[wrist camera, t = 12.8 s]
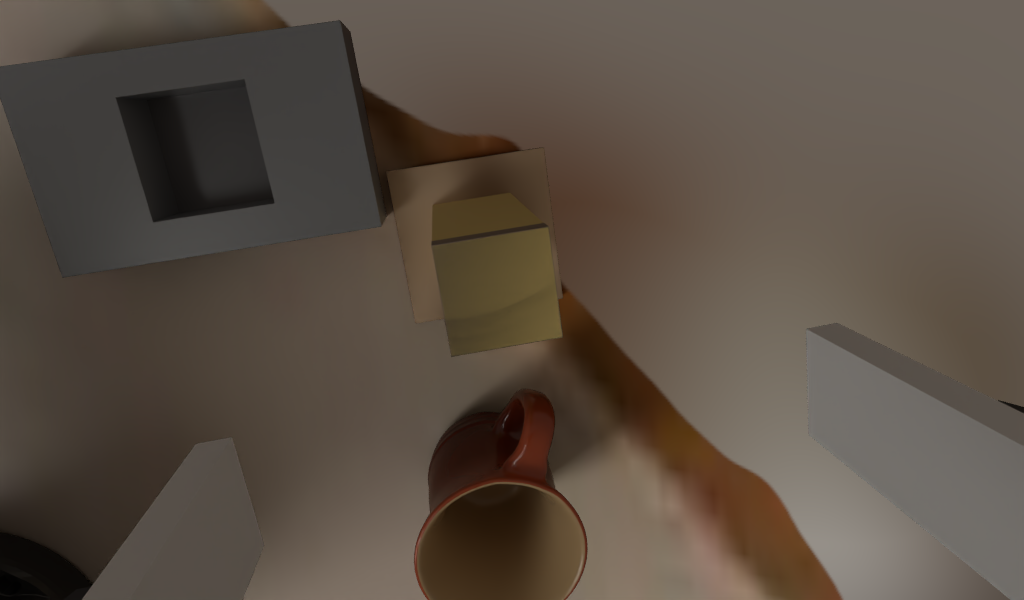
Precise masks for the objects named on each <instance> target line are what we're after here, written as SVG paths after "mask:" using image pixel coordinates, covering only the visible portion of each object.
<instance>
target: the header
mask: <svg viewBox="0 0 1024 600" xmlns="http://www.w3.org/2000/svg"><path fill="white" fill-rule="evenodd" d="M0 99H1V102H2V105H3V108H4V110H5V113H6V116H7V119H8V122H9V125H10V128H11V131H12V133H13V136H14V139H15V142H16V145H17V148H18V151H19V154H20V157H21V159H22V162H23V165H24V168H25V171H26V174H27V177H28V180H29V182H30V185H31V188H32V191H33V194H34V197H35V200H36V203H37V206H38V208H39V211H40V214H41V217H42V220H43V223H44V226H45V229H46V232H47V234H48V237H49V240H50V243H51V246H52V249H53V252H54V255H55V257H56V260H57V263H58V266H59V269H60V272H61V275H62V278H63V277H69V276H76V275H82V274H88V273H94V272H101V271H107V270H113V269H119V268H126V267H132V266H138V265H144V264H151V263H157V262H163V261H169V260H176V259H182V258H188V257H194V256H201V255H207V254H213V253H220V252H226V251H232V250H238V249H245V248H251V247H257V246H263V245H270V244H276V243H282V242H288V241H295V240H301V239H307V238H313V237H320V236H326V235H332V234H338V233H345V232H351V231H357V230H363V229H370V228H376V227H382V225H383V223H384V221H385V219H386V217H387V215H386V210H385V205H384V200H383V194H382V189H381V184H380V179H379V174H378V169H377V164H376V159H375V154H374V149H373V144H372V139H371V134H370V129H369V124H368V119H367V114H366V108H365V103H364V98H363V93H362V88H361V83H360V78H359V73H358V68H357V64H356V58H355V53H354V48H353V43H352V38H351V33H350V31H349V30H348V29H347V28H346V26H345V25H344V24H343V23H342V22H341V21H340V20H339V21H332V22H325V23H317V24H311V25H303V26H295V27H288V28H280V29H273V30H266V31H258V32H251V33H243V34H236V35H229V36H221V37H214V38H207V39H199V40H192V41H185V42H177V43H170V44H162V45H155V46H148V47H140V48H133V49H126V50H118V51H111V52H104V53H96V54H89V55H81V56H74V57H67V58H59V59H52V60H45V61H37V62H30V63H23V64H15V65H8V66H0Z"/></svg>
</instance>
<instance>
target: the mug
mask: <svg viewBox="0 0 1024 600" xmlns="http://www.w3.org/2000/svg"><path fill="white" fill-rule="evenodd" d="M554 427H555V415H554V410H553V407H552V404H551V402H550V400H549V399H548V398H547V397H546V395H544V394H543V393H541V392H539V391H535V390H531V389H521V390H518V391H517V392H516V393H515V394H514V395H513V396H512V398H511V400H510V401H509V403H508V404H507V406H506V407H505V408H504V409H503V411H502V412H501V413H496V412H480V413H476V414H473V415H470V416H468V417H465V418H463V419H461V420H460V421H458V422H456V423H455V424H454V425H452V426H451V427H450V428H449V429H448V430H447V431H446V432H445V433H444V434H443V436H442V437H441V439H440V440H439V442H438V444H437V446H436V448H435V450H434V453H433V456H432V459H431V462H430V466H429V472H428V485H429V507H430V514H429V516H428V518H427V519H426V521H425V523H424V525H423V527H422V529H421V531H420V533H419V536H418V539H417V542H416V546H415V553H414V566H415V573H416V577H417V580H418V583H419V586H420V588H421V590H422V592H423V594H424V595H425V597H426V598H427V600H566V599H567V598H568V597H569V595H570V594H571V593H572V592H573V590H574V589H575V587H576V586H577V584H578V582H579V581H580V578H581V576H582V574H583V571H584V568H585V564H586V560H587V537H586V532H585V529H584V526H583V523H582V521H581V519H580V517H579V515H578V514H577V512H576V510H575V509H574V508H573V506H572V505H571V504H570V503H569V501H568V500H567V499H566V498H565V497H564V496H563V495H562V494H561V493H560V492H558V491H557V490H556V489H555V485H554V480H553V477H552V473H551V470H550V467H549V462H548V453H549V450H550V446H551V443H552V439H553V434H554Z"/></svg>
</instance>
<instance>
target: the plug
mask: <svg viewBox="0 0 1024 600" xmlns="http://www.w3.org/2000/svg"><path fill="white" fill-rule="evenodd" d="M431 247H432V252H433V258H434V263H435V269H436V275H437V280H438V286H439V291H440V297H441V302H442V308H443V313H444V319H445V324H446V330H447V335H448V341H449V346H450V352H451V357H454V356H459V355H465V354H471V353H476V352H482V351H488V350H493V349H499V348H505V347H510V346H516V345H522V344H527V343H533V342H539V341H544V340H550V339H556V338H561V337H563V334H562V326H561V318H560V310H559V303H558V295H557V287H556V279H555V272H554V264H553V256H552V248H551V240H550V233H549V226H547V225H546V224H545V223H543V222H542V221H541V220H540V219H539V218H538V217H536V216H535V215H534V214H533V213H532V212H531V211H530V210H529V209H528V208H526V207H525V206H524V205H523V204H522V203H521V202H520V201H519V200H518V199H516V198H515V197H514V196H513V195H512V194H511V193H505V194H498V195H492V196H486V197H479V198H473V199H467V200H461V201H454V202H448V203H442V204H435V205H432V241H431Z"/></svg>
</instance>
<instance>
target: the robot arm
mask: <svg viewBox="0 0 1024 600" xmlns="http://www.w3.org/2000/svg"><path fill="white" fill-rule="evenodd" d="M806 347H807V385H808V386H807V389H808V429H809V436H811V437H812V438H813V439H814V440H816V441H817V442H818V443H820V445H822V446H823V447H824V448H825V449H827V450H828V451H829V452H830V453H831V454H833V455H834V456H835V457H837V458H838V459H839V460H840V461H841V462H843V463H844V464H845V465H846V466H847V467H849V468H850V469H851V470H852V471H854V472H855V473H856V474H857V475H858V476H860V477H861V478H862V479H863V480H865V481H866V482H867V483H868V484H870V485H871V486H872V487H873V488H874V489H876V490H877V491H878V492H879V493H881V494H882V495H883V496H884V497H886V498H887V499H888V500H889V501H890V502H892V503H893V504H894V505H895V506H897V507H898V508H899V509H901V511H903V512H904V513H905V514H906V515H907V516H909V517H910V518H911V519H912V520H914V521H915V522H916V523H917V524H918V525H920V526H921V527H922V528H923V529H925V530H926V531H927V532H928V533H930V534H931V535H932V536H933V537H934V538H936V539H937V540H938V541H939V542H940V543H942V544H943V545H944V546H946V547H947V548H948V549H949V550H950V551H952V552H953V553H954V554H955V555H956V556H958V557H959V558H960V559H961V560H963V561H964V562H965V563H966V564H968V565H969V566H970V567H971V568H973V569H974V570H975V571H976V572H977V573H979V574H980V575H981V576H982V577H983V578H985V579H986V580H987V581H988V582H989V583H991V584H992V585H993V586H995V587H996V588H997V589H998V590H999V591H1001V592H1002V593H1003V594H1004V595H1005V596H1007V597H1008V598H1009V599H1010V600H1024V407H1021V406H1018V405H1014V404H1010V403H1006V402H1003V401H999V400H998V401H997V400H995V399H993V398H991V397H989V396H987V395H985V394H982V393H980V392H979V391H977V390H974V389H972V388H970V387H968V386H966V385H964V384H962V383H960V382H958V381H956V380H954V379H952V378H949V377H948V376H946V375H943V374H941V373H939V372H937V371H935V370H933V369H931V368H929V367H927V366H925V365H923V364H921V363H919V362H917V361H914V360H913V359H911V358H908V357H906V356H904V355H902V354H900V353H898V352H896V351H894V350H892V349H890V348H888V347H886V346H884V345H882V344H880V343H878V342H875V341H873V340H871V339H869V338H867V337H865V336H863V335H861V334H859V333H857V332H855V331H853V330H851V329H849V328H846V327H845V326H842V325H840V324H838V323H834V324H829V325H823V326H819V327H813V328H808V329H806ZM263 547H264V543H263V539H262V536H261V532H260V529H259V526H258V522H257V519H256V516H255V512H254V509H253V506H252V502H251V499H250V496H249V492H248V489H247V486H246V482H245V479H244V476H243V472H242V469H241V466H240V462H239V459H238V455H237V452H236V449H235V445H234V442H233V439H232V437H230V438H224V439H219V440H214V441H208V442H203V443H198V444H195V446H194V447H193V448H192V450H191V451H190V453H189V454H188V455H187V457H186V458H185V459H184V461H183V462H182V463H181V465H180V466H179V468H178V469H177V470H176V472H175V473H174V474H173V476H172V477H171V479H170V480H169V481H168V483H167V484H166V485H165V487H164V488H163V489H162V491H161V492H160V494H159V495H158V496H157V498H156V499H155V500H154V502H153V503H152V504H151V506H150V507H149V509H148V510H147V511H146V513H145V514H144V515H143V517H142V518H141V519H140V521H139V522H138V524H137V525H136V526H135V528H134V529H133V530H132V532H131V533H130V535H129V536H128V537H127V539H126V540H125V541H124V543H123V544H122V545H121V547H120V548H119V550H118V551H117V552H116V554H115V555H114V556H113V558H112V559H111V560H110V562H109V563H108V565H107V566H106V567H105V569H104V570H103V571H102V573H101V574H100V575H99V577H98V578H97V580H96V581H95V582H94V584H93V585H91V584H90V583H89V581H88V580H87V579H86V578H85V577H84V576H83V575H82V574H81V573H80V572H79V571H78V570H77V569H76V568H75V567H73V566H72V565H71V564H70V563H69V562H67V561H66V560H64V559H63V558H62V557H60V556H59V555H57V554H55V553H54V552H52V551H50V550H48V549H47V548H45V547H42V546H40V545H38V544H36V543H34V542H31V541H29V540H26V539H23V538H20V537H17V536H13V535H9V534H5V533H0V600H243V598H244V595H245V592H246V590H247V587H248V585H249V582H250V580H251V577H252V575H253V572H254V570H255V567H256V564H257V562H258V559H259V557H260V554H261V552H262V549H263Z"/></svg>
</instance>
